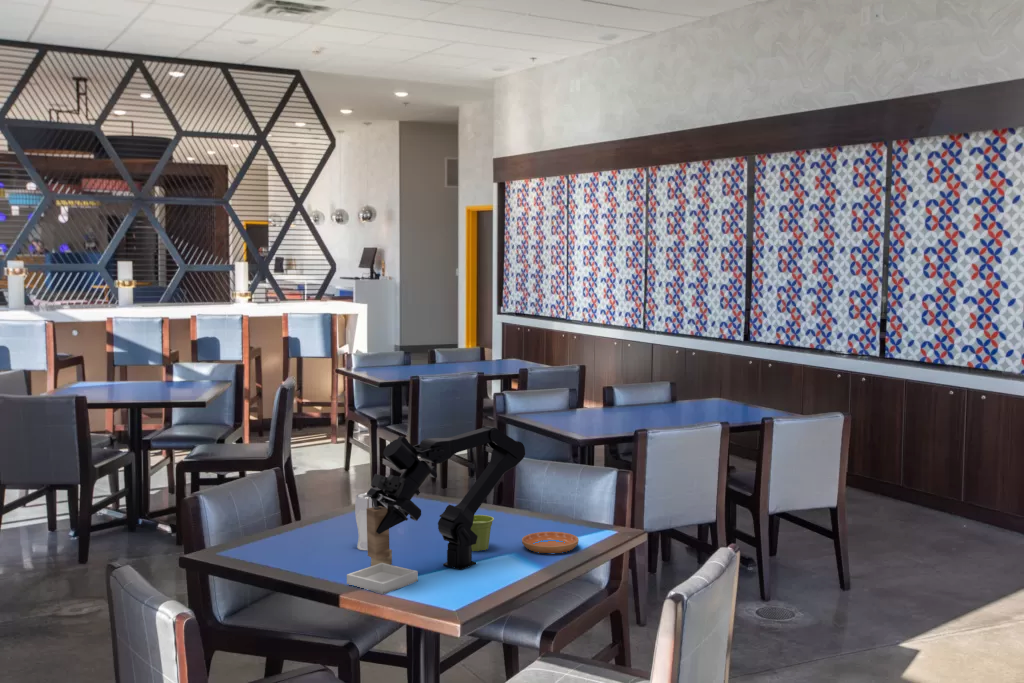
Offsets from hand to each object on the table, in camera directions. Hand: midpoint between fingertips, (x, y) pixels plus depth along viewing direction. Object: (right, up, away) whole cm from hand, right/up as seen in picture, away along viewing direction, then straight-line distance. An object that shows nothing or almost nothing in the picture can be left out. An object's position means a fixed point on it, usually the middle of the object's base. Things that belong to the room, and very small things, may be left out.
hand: (373, 531), depth 237 cm
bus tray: (+2, -13, +1) cm, 14 cm away
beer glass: (-6, -12, +34) cm, 36 cm away
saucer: (+45, -12, +33) cm, 57 cm away
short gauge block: (0, -13, +17) cm, 21 cm away
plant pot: (+25, -12, +32) cm, 42 cm away
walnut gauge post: (+1, -7, +1) cm, 7 cm away
